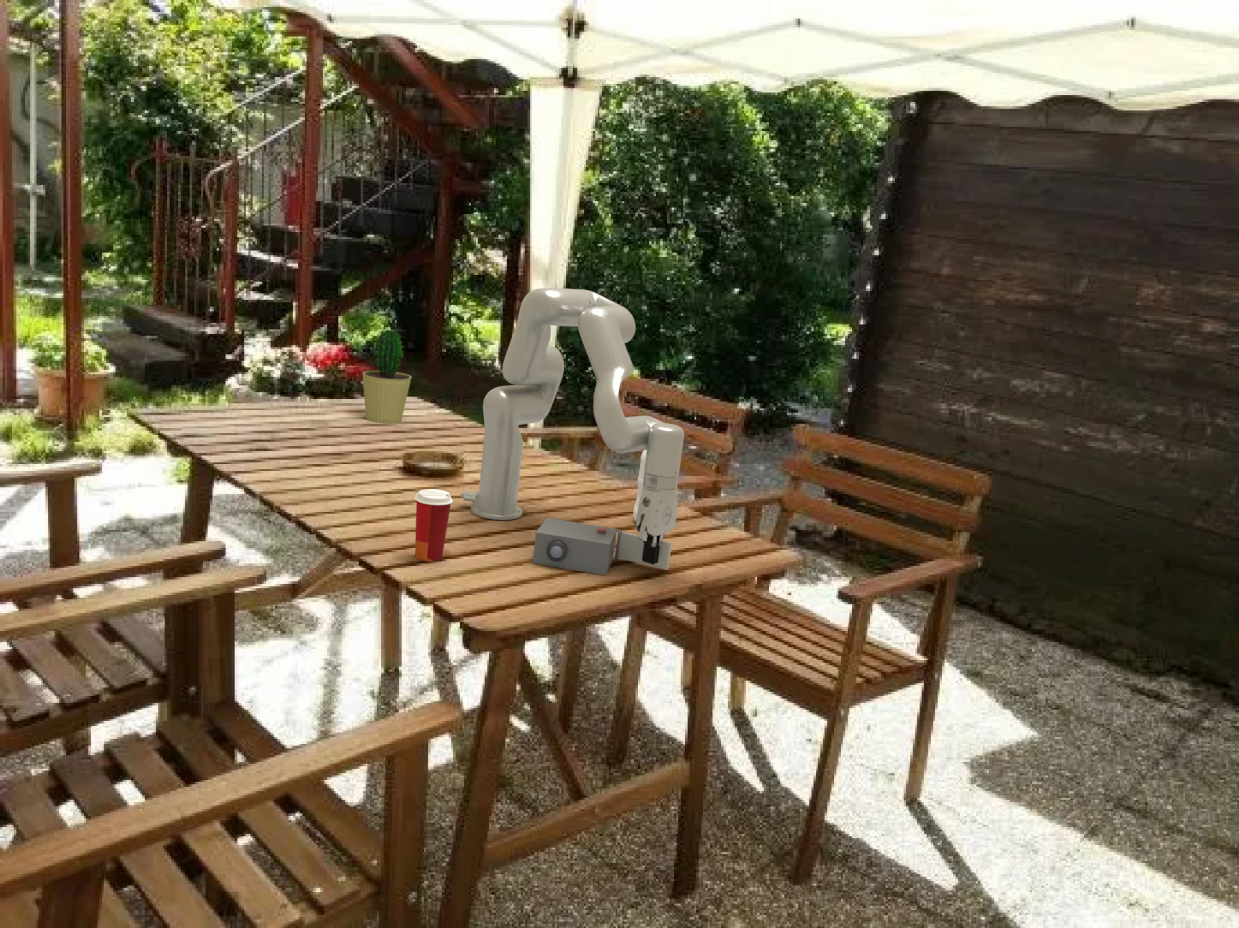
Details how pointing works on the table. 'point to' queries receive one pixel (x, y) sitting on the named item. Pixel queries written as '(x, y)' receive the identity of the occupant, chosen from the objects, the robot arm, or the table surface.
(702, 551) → the table surface
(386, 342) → the potted cactus
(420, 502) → the paper cup
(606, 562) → the camera body
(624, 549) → the side door
